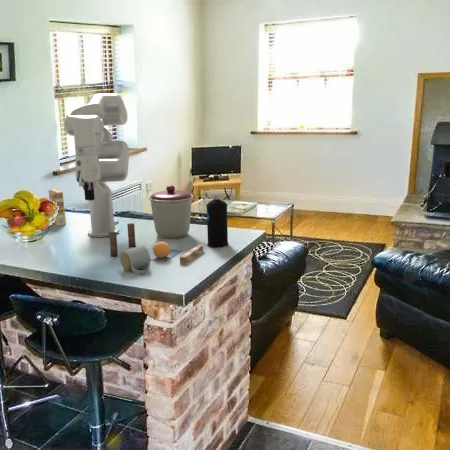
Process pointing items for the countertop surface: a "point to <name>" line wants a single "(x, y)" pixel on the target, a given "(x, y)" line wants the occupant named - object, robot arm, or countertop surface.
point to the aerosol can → (217, 223)
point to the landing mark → (154, 258)
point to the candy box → (58, 198)
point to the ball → (161, 249)
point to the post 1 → (113, 244)
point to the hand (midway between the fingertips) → (89, 199)
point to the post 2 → (131, 235)
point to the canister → (171, 212)
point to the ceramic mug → (135, 259)
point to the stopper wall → (191, 254)
